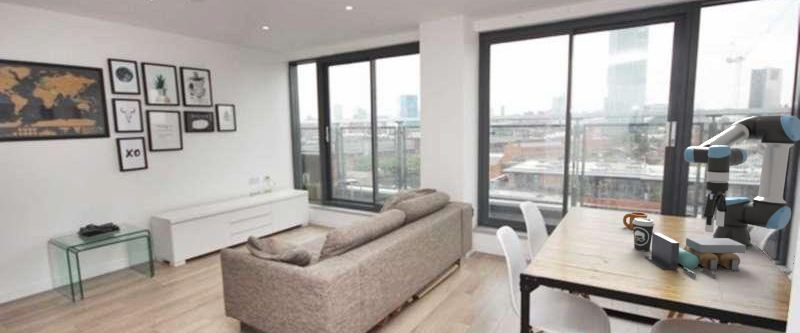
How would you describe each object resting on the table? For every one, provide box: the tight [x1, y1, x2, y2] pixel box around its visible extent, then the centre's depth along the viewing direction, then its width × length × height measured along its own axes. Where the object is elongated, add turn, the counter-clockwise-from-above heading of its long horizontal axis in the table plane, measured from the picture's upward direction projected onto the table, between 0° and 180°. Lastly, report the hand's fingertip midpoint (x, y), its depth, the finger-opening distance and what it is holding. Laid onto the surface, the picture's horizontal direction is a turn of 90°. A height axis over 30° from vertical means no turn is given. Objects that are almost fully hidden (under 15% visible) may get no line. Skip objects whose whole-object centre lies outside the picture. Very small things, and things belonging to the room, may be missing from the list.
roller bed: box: [682, 259, 741, 279], centre depth 171 cm, size 23×25×5 cm
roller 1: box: [678, 246, 700, 270], centre depth 176 cm, size 12×6×6 cm, turn 175°
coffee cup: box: [632, 217, 656, 252], centre depth 196 cm, size 10×10×15 cm
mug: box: [622, 211, 648, 231], centre depth 232 cm, size 9×12×9 cm
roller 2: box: [683, 245, 719, 269], centre depth 175 cm, size 14×7×7 cm, turn 175°
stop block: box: [643, 232, 680, 271], centre depth 176 cm, size 6×15×12 cm, turn 175°
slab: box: [685, 237, 747, 254], centre depth 174 cm, size 18×10×4 cm, turn 85°
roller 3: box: [713, 253, 741, 269], centre depth 174 cm, size 14×7×7 cm, turn 175°
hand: (714, 228), depth 174 cm, fingers open, 13 cm apart
